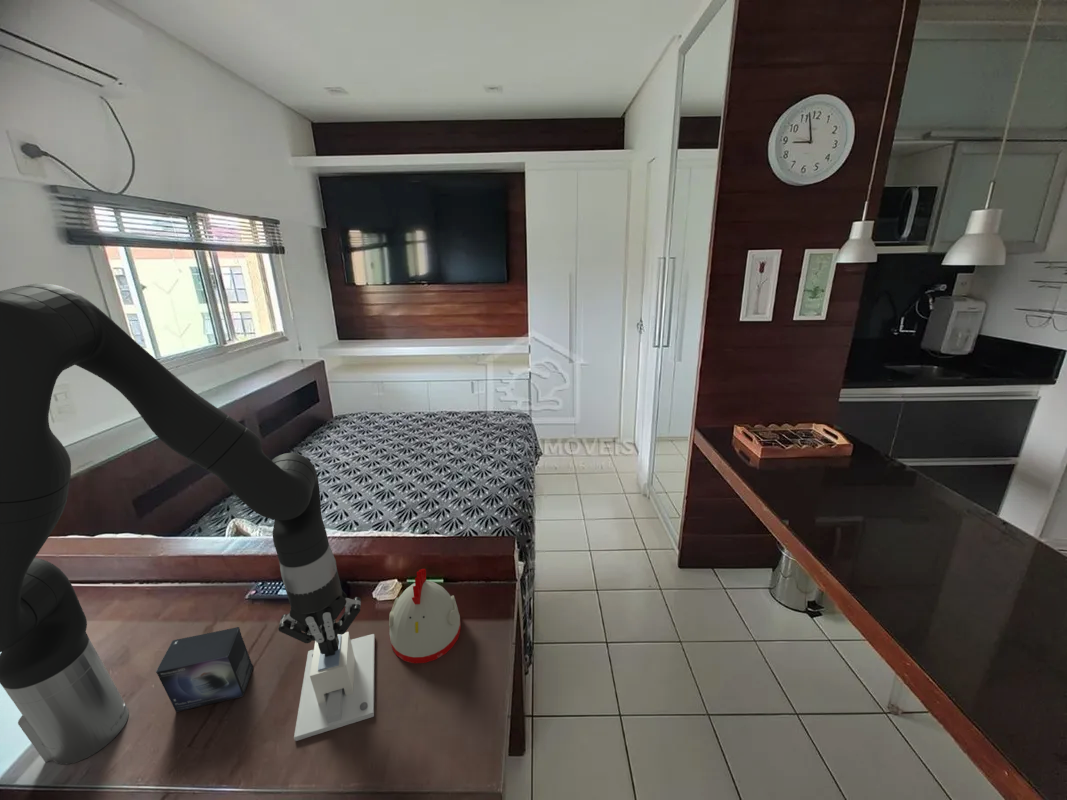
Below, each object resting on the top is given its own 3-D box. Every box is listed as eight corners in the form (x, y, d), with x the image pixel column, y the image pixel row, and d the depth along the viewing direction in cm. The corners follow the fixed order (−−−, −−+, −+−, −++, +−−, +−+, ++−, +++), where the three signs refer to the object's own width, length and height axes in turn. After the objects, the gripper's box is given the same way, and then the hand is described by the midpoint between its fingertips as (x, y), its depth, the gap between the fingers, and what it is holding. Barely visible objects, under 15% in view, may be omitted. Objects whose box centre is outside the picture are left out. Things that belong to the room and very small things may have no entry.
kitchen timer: (382, 664, 82) (370, 605, 77) (400, 605, 95) (391, 550, 90) (456, 661, 83) (449, 602, 77) (464, 603, 96) (459, 548, 90)
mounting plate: (295, 741, 70) (291, 730, 69) (309, 654, 84) (306, 645, 83) (373, 716, 74) (371, 706, 73) (374, 637, 88) (372, 627, 87)
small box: (173, 716, 74) (152, 673, 70) (190, 680, 80) (171, 638, 76) (243, 698, 77) (227, 656, 73) (254, 665, 83) (239, 624, 79)
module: (318, 704, 75) (309, 674, 72) (322, 667, 81) (314, 639, 78) (353, 693, 76) (345, 664, 74) (355, 658, 83) (348, 630, 80)
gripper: (257, 602, 64) (284, 683, 71) (353, 580, 68) (371, 658, 74) (268, 567, 71) (292, 643, 77) (355, 548, 75) (371, 623, 81)
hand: (331, 651), depth 76 cm, fingers closed
